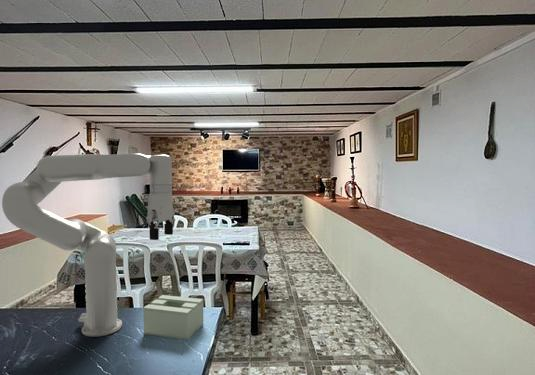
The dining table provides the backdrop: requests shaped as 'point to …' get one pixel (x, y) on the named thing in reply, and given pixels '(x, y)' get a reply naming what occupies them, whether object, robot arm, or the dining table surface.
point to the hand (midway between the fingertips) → (161, 236)
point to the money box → (173, 317)
